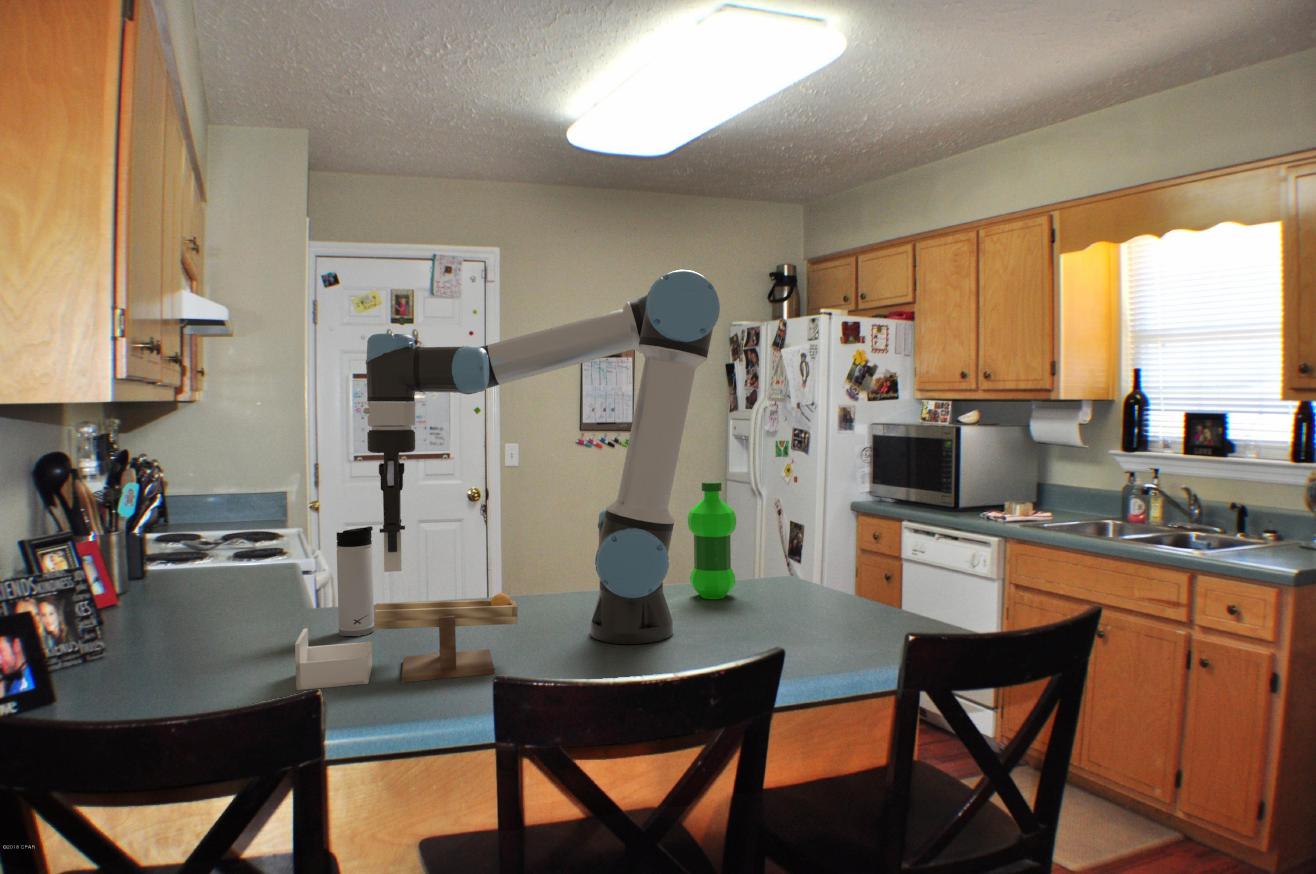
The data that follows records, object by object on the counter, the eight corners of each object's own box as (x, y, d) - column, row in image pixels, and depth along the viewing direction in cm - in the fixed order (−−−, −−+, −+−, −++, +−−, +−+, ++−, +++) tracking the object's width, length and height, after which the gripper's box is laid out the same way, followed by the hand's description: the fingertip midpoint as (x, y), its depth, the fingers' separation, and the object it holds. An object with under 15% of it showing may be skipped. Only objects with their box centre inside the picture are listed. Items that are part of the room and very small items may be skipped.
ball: (509, 615, 141) (517, 597, 141) (500, 616, 138) (508, 597, 138) (493, 608, 142) (501, 590, 142) (484, 608, 139) (492, 589, 139)
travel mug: (364, 638, 156) (361, 529, 155) (332, 636, 157) (329, 528, 157) (382, 629, 162) (379, 524, 161) (350, 627, 164) (348, 524, 163)
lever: (510, 606, 150) (510, 590, 150) (517, 623, 138) (517, 606, 137) (378, 611, 144) (378, 594, 144) (373, 629, 132) (374, 611, 132)
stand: (489, 654, 145) (488, 600, 145) (494, 673, 134) (493, 615, 134) (403, 661, 141) (402, 606, 141) (401, 682, 131) (400, 622, 130)
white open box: (371, 665, 139) (370, 623, 139) (368, 683, 130) (366, 638, 130) (304, 671, 137) (303, 628, 136) (296, 690, 128) (295, 643, 127)
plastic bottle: (691, 591, 192) (689, 480, 191) (738, 591, 190) (736, 480, 189) (686, 601, 182) (684, 484, 181) (735, 602, 180) (734, 484, 179)
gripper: (369, 427, 146) (371, 564, 146) (364, 429, 133) (366, 579, 134) (415, 427, 147) (416, 562, 148) (414, 429, 135) (416, 577, 136)
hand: (392, 570), depth 141 cm, fingers closed
